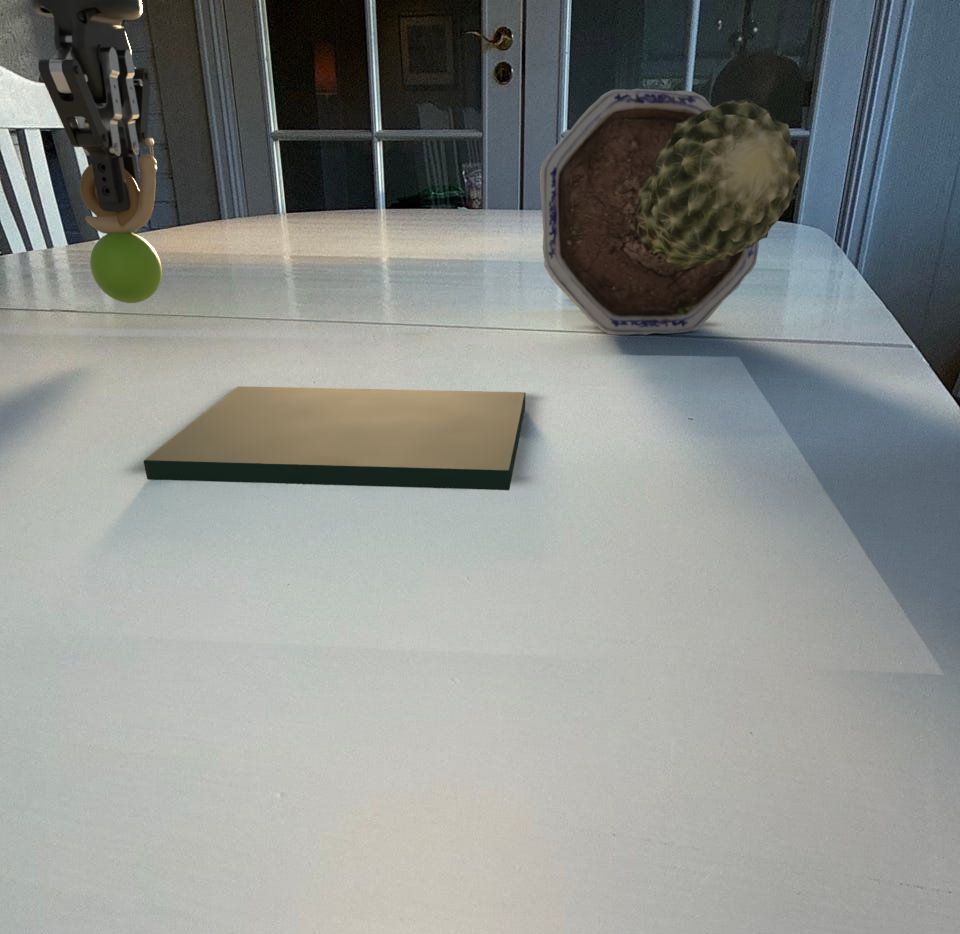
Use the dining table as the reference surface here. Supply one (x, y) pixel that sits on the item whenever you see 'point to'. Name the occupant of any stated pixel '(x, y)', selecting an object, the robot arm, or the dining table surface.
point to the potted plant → (662, 206)
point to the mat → (349, 439)
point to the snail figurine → (124, 237)
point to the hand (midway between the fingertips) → (122, 208)
